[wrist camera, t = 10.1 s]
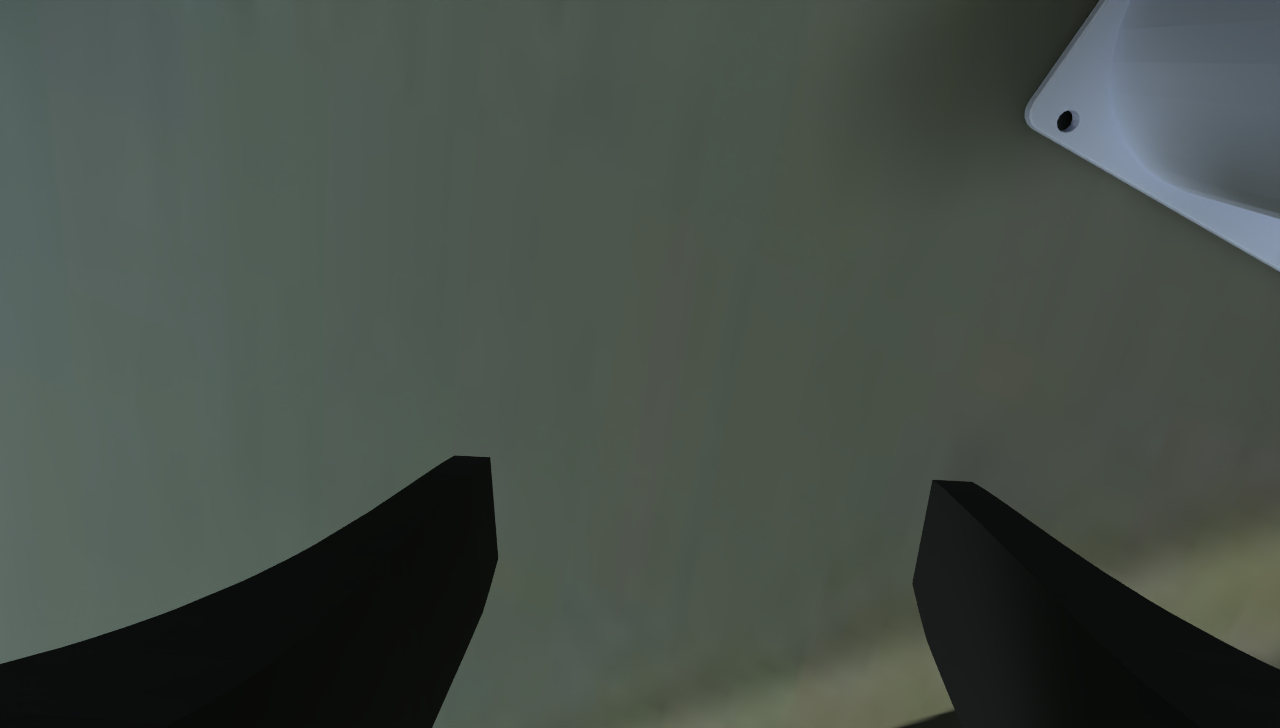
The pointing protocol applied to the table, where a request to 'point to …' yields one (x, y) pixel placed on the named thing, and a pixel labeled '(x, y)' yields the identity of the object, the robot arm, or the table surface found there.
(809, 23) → the table surface
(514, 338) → the table surface
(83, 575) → the table surface
